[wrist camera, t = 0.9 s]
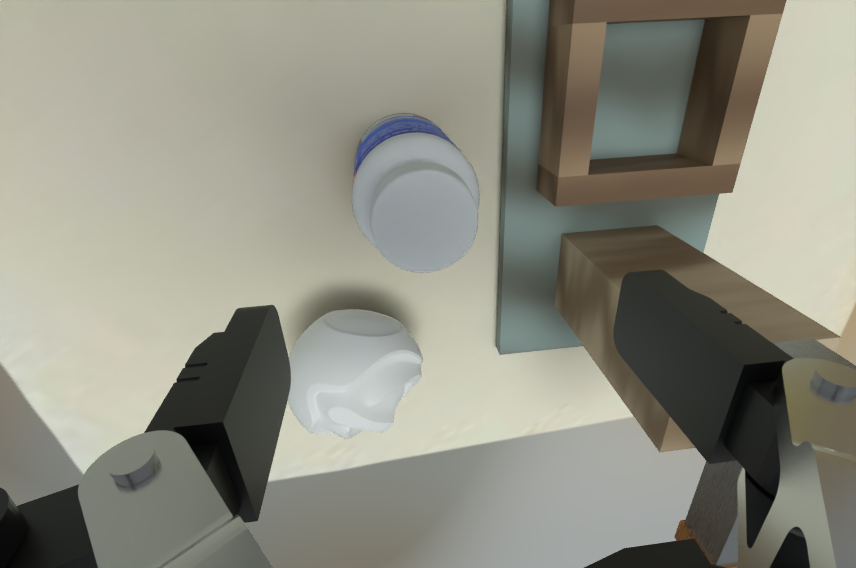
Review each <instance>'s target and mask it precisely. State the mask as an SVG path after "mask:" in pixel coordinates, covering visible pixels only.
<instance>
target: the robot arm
mask: <svg viewBox="0 0 856 568" xmlns="http://www.w3.org/2000/svg"><path fill="white" fill-rule="evenodd" d="M613 337H614V343H615V346H616V349H617V351H618V353H619V355H620V356H621V357H622V358H623V360H624V361H625V362H626V363H627V364H628V366H629V367H630V368H631V369H632V371H633V372H634V373H635V374H636V375H637V377H638V378H639V379H640V380H641V382H642V383H643V384H644V385H645V386H646V388H647V389H648V390H649V391H650V393H651V394H652V395H653V396H654V397H655V399H656V400H657V401H658V402H659V404H660V405H661V406H662V407H663V408H664V410H665V411H666V412H667V413H668V414H669V416H670V417H671V418H672V419H673V421H674V422H675V423H676V424H677V425H678V427H679V428H680V429H681V430H682V432H683V433H684V434H685V435H686V436H687V438H688V439H689V440H690V441H691V443H692V444H693V445H694V446H695V447H696V448H697V450H698V451H699V452H700V453H701V455H702V456H703V457H704V458H705V460H706V461H707V462H708V463H709V464H714V463H722V462H730V461H738V462H739V463H740V464H741V466H742V469H741V471H740V474H739V476H738V481H737V495H738V567H737V568H856V370H855V369H853V368H850V367H848V366H845V365H842V364H839V363H835V362H831V361H827V360H822V359H815V358H797V359H794V358H792V357H791V356H790V355H788V354H787V353H786V352H784V351H783V350H781V349H780V348H779V347H777V346H776V345H775V344H773V343H772V342H770V341H769V340H768V339H766V338H765V337H763V336H762V335H761V334H759V333H758V332H757V331H755V330H754V329H752V328H751V327H750V326H748V325H747V324H742V321H741V320H740V319H739V318H737V317H736V316H734V315H733V314H732V313H728V312H727V310H726V309H725V308H723V307H722V306H721V305H719V304H718V303H716V302H715V301H714V300H712V299H711V298H709V297H707V296H705V295H702V294H700V293H698V292H695V291H693V290H691V289H689V288H687V287H686V286H685V285H683V284H682V283H681V282H679V281H678V280H677V279H675V278H674V277H672V276H671V275H670V274H668V273H667V272H666V271H664V270H661V269H658V270H647V271H636V272H629V273H627V274H626V275H625V276H624V277H623V280H622V283H621V289H620V294H619V300H618V306H617V312H616V317H615V323H614V329H613ZM290 386H291V369H290V362H289V358H288V354H287V349H286V345H285V341H284V337H283V333H282V328H281V324H280V320H279V316H278V312H277V310H276V308H275V306H274V305H267V306H256V307H246V308H238V309H237V310H236V311H235V313H234V315H233V317H232V318H231V320H230V322H229V324H228V326H227V328H226V330H225V332H219V333H213V334H212V335H211V336H209V337H208V338H207V339H206V340H205V341H203V342H202V343H201V344H200V345H198V346H197V347H196V348H195V349H194V351H193V353H192V354H191V356H190V358H189V359H188V361H187V363H186V364H185V368H183V369H182V371H181V373H180V374H179V376H178V378H177V383H174V384H173V386H172V388H171V389H170V391H169V393H168V394H167V396H166V398H165V399H164V401H163V402H162V404H161V406H160V407H159V409H158V411H157V412H156V414H155V416H154V417H153V419H152V421H151V422H150V424H149V426H148V427H147V429H146V431H145V432H144V433H143V434H140V435H137V436H134V437H131V438H129V439H127V440H125V441H123V442H121V443H119V444H117V445H115V446H114V447H112V448H111V449H109V450H108V451H106V452H105V453H104V454H102V455H101V456H100V457H99V458H98V459H97V460H96V461H95V462H94V463H92V465H91V466H90V467H89V468H88V469H87V471H86V472H85V474H84V475H83V477H82V479H81V481H80V483H79V485H76V486H73V487H71V488H68V489H65V490H62V491H59V492H56V493H53V494H50V495H48V496H45V497H42V498H39V499H36V500H33V501H30V502H27V503H24V504H21V505H19V506H16V505H15V503H14V502H13V501H12V499H11V498H10V496H9V495H8V494H7V492H6V491H5V490H4V489H2V488H0V568H273V567H272V565H271V564H270V562H269V561H268V559H267V557H266V556H265V554H264V553H263V551H262V550H261V548H260V546H259V545H258V543H257V542H256V540H255V539H254V537H253V535H252V534H251V532H250V531H249V529H248V527H247V526H246V525H245V522H253V521H258V518H259V514H260V510H261V506H262V502H263V498H264V493H265V489H266V485H267V481H268V477H269V473H270V469H271V465H272V461H273V457H274V453H275V449H276V445H277V441H278V436H279V432H280V428H281V424H282V420H283V416H284V412H285V408H286V404H287V400H288V396H289V392H290ZM585 568H726V567H722V566H718V565H712V564H711V563H710V562H709V560H708V559H707V557H706V556H705V554H704V553H703V551H702V550H701V548H700V547H699V545H698V544H697V542H696V541H695V539H687V540H680V541H673V542H666V543H659V544H652V545H645V546H638V547H631V548H624V549H622V550H620V551H618V552H616V553H614V554H612V555H609V556H607V557H605V558H603V559H601V560H599V561H597V562H595V563H593V564H591V565H589V566H587V567H585Z"/></svg>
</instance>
